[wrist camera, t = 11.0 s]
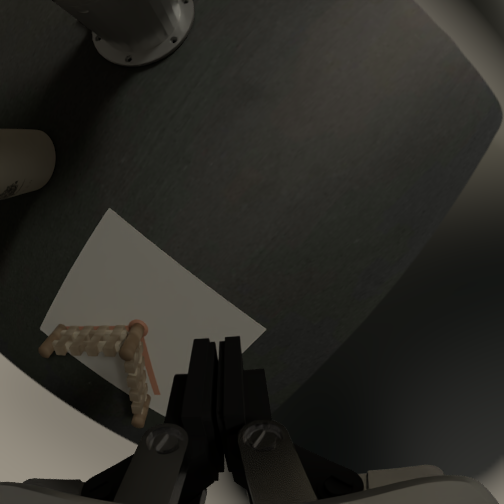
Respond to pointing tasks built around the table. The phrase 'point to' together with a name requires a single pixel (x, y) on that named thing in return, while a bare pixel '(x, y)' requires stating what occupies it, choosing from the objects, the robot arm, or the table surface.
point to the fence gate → (138, 387)
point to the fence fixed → (93, 341)
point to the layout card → (143, 306)
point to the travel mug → (24, 161)
